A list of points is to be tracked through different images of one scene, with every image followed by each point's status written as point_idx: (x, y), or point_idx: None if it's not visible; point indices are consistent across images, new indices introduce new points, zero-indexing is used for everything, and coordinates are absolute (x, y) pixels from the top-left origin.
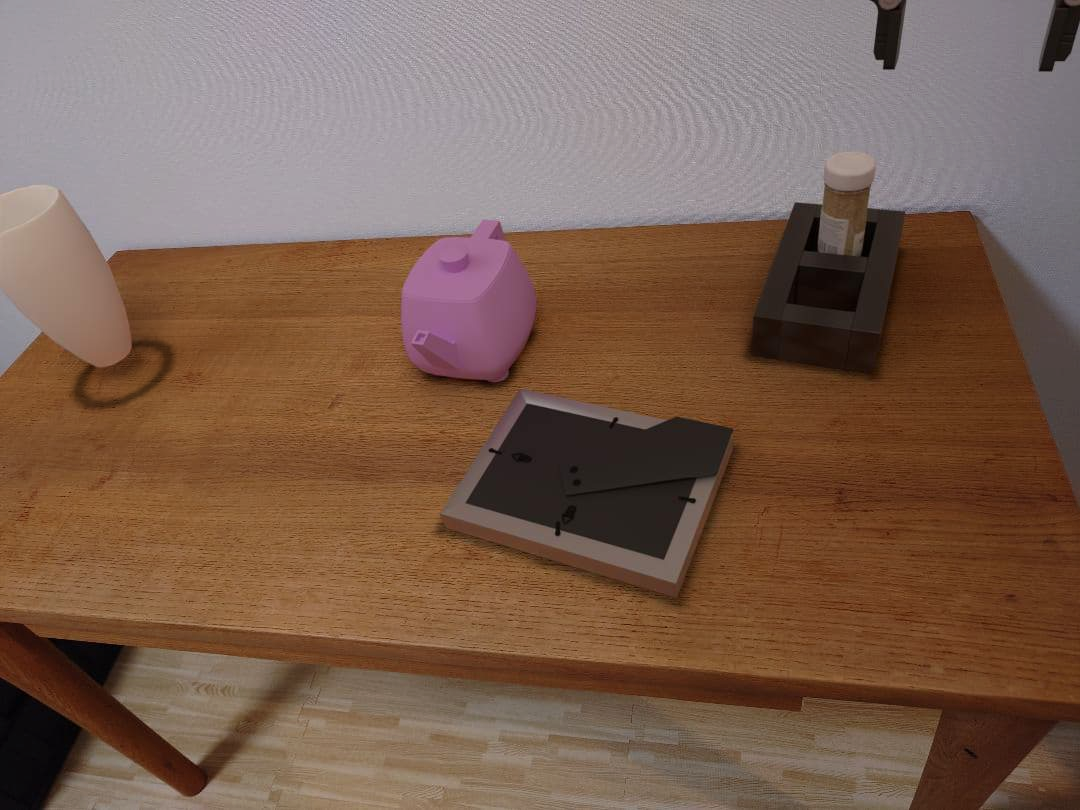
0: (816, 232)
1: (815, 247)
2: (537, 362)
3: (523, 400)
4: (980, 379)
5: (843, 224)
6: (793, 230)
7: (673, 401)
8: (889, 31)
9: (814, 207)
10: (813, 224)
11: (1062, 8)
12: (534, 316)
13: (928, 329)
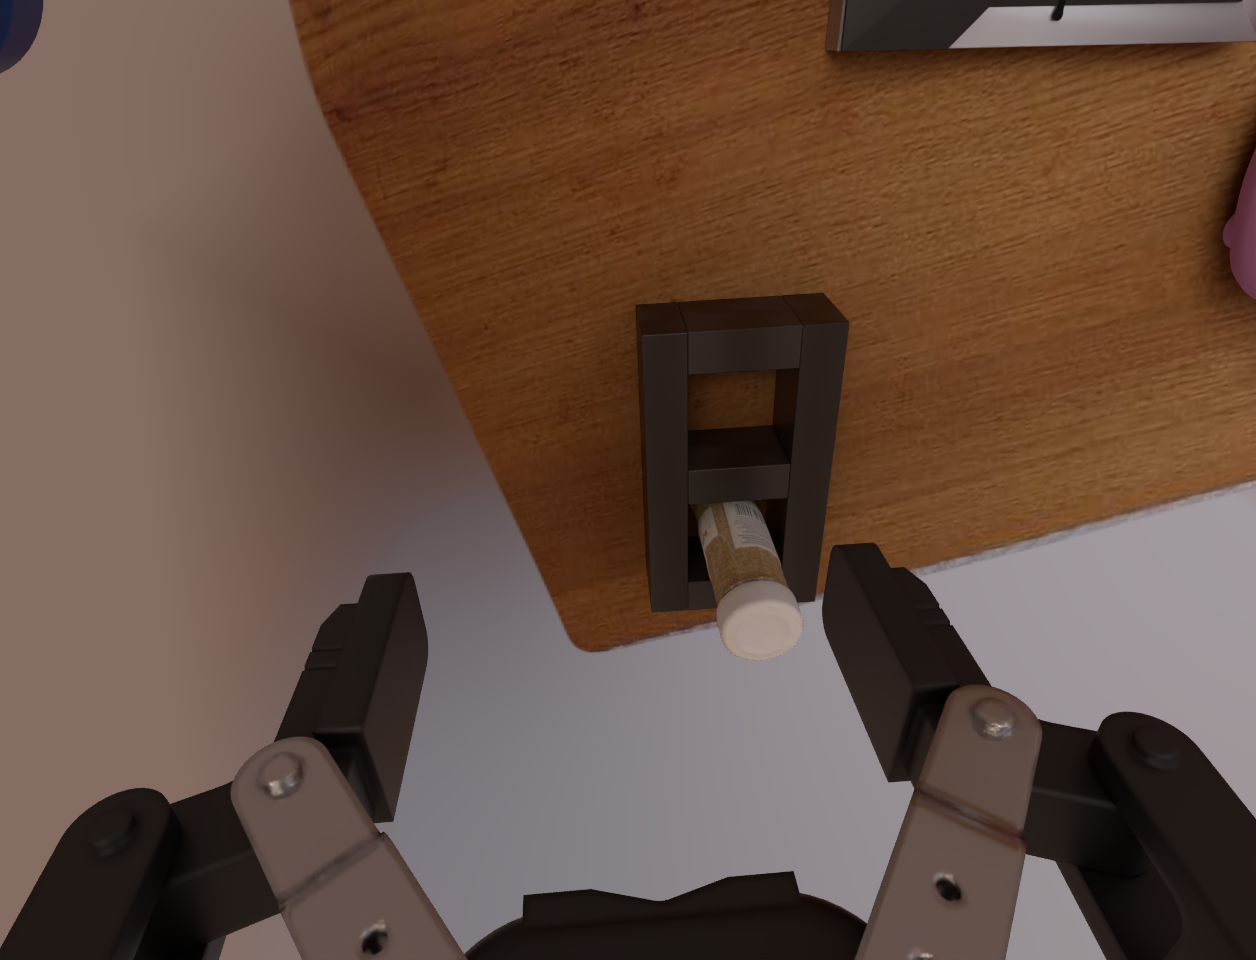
0: None
1: None
2: (1200, 164)
3: (1249, 8)
4: (489, 338)
5: (741, 540)
6: (808, 539)
7: (940, 141)
8: (917, 626)
9: None
10: None
11: (337, 730)
12: (1245, 235)
13: (577, 421)
